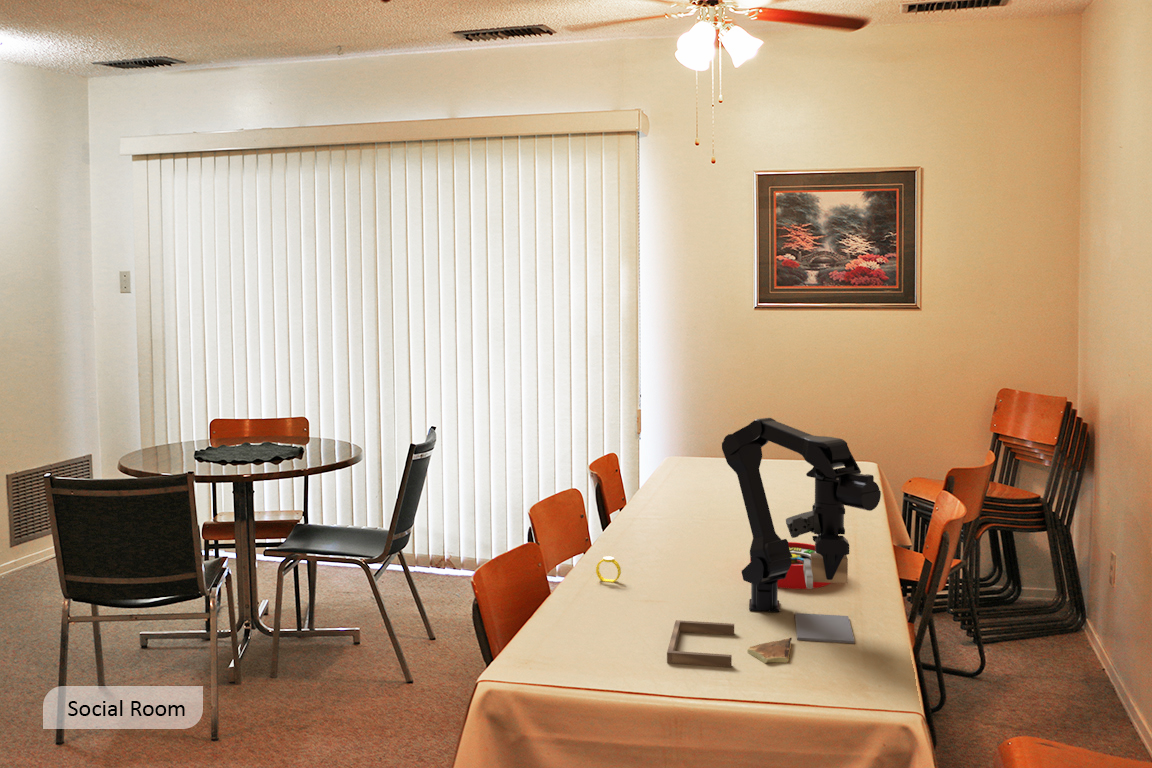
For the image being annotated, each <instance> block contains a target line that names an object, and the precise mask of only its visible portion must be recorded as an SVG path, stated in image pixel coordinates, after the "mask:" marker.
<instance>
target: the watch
mask: <svg viewBox="0 0 1152 768" xmlns="http://www.w3.org/2000/svg"><path fill="white" fill-rule="evenodd" d="M603 562H604V563H612V564H614V566H615V567H616V569H617V575H616V578H615V579H609V578H605V577H603V575H601V571H600V566H601V564H602V563H603ZM595 573H596V575H597V577H598V579H599V580H600V582H604V583H605V582H606V583H615V582H617V581H618V580H619V579H620V577H621V574H622V567H621V565H620V564H619V562H618V561H617V560H616V559H615V557H613V556H611V555H610V556H603V557H602V559H601V560H599V561H598V563H597V565H596V566H595Z"/></svg>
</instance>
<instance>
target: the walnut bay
mask: <svg viewBox="0 0 1152 768" xmlns="http://www.w3.org/2000/svg"><path fill="white" fill-rule="evenodd" d="M681 632H682V633H683V632H684V633H696V634H697V633H698V634H710V635H711V634H712V635H713V634H714V635H728V636H730V635H731V636H734V635H735V623H732V622H731V623H728V622H711V621H710V622H709V621H694V620H681V619H679V620H678V619H675V621H674V625H673V628H672V632H671V635H670V636H671V637H670V640H669V643H668V648H667V651H666V663H667V664H678V665H679V664H680V665H694V666H695V665H696V666H707V667H708V666H709V667H723V668H732V663H733V662H732V661H733V658H732V654H728V653H727V654H726V653H725V654H724V653H709V652H698V651H697V652H693V651H680V650H676V649H677V646H678V641H679V639H680V638H679V637H680V633H681Z"/></svg>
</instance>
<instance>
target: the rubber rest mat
mask: <svg viewBox="0 0 1152 768" xmlns="http://www.w3.org/2000/svg"><path fill="white" fill-rule="evenodd" d="M794 616H795V617H794V618H795V629H796V638H797V641H810V642H824V643H840V644H841V643H844V644H855V642H856V641H855V637H854V634H853V629H852V625H851V622H850V618H849V617H850V616H849V615H841V614H840V615H839V614H838V615H837V614H823V613H822V614H821V613H806V612H805V613H801V612H795V613H794Z"/></svg>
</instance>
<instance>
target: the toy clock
mask: <svg viewBox="0 0 1152 768" xmlns="http://www.w3.org/2000/svg"><path fill="white" fill-rule="evenodd" d="M788 544H789V550H790V553H791V554H792V556H793V557H791V566H790V568H789V570H788V572H787V575H786V578H785V579H780V580H778V588H781V589H790V590H791V589H793V590H810V589H809V588H806V582H805V576H804V570H803V559H810V564H811V553H816V550H815V544H813V543H812V544H811V543H805V542H795V541H794V542H793V541H788ZM750 562H751V559H750V558H749V563H750ZM830 584H831V583H826V582H813V589H818V588H822V587H825V586H828V585H830Z"/></svg>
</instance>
